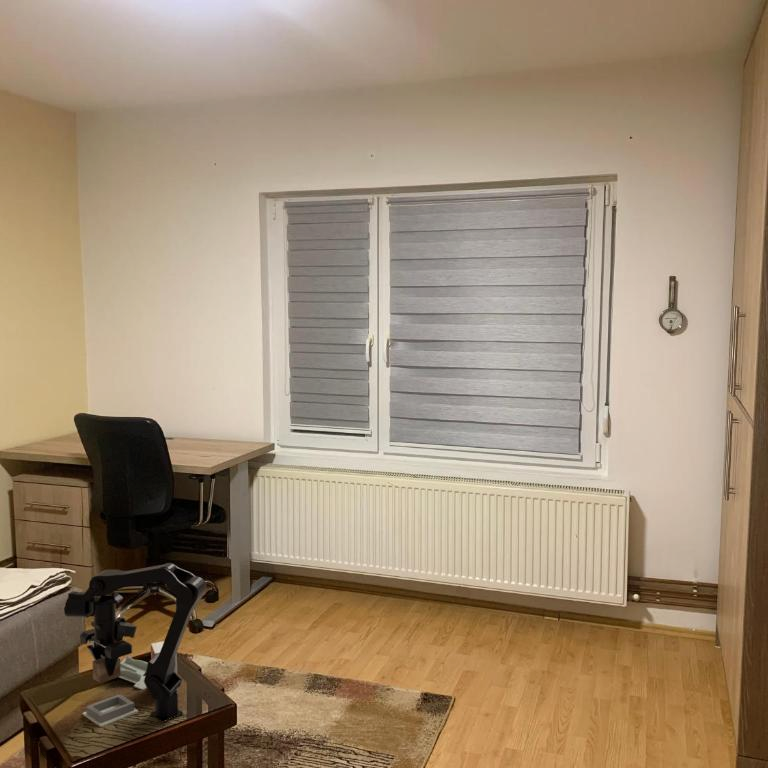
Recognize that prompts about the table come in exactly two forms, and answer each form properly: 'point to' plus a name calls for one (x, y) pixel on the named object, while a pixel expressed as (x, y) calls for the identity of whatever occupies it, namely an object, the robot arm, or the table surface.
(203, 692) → the table surface
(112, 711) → the socket board
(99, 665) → the walnut block
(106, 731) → the table surface
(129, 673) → the metal bracket
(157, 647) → the small box
